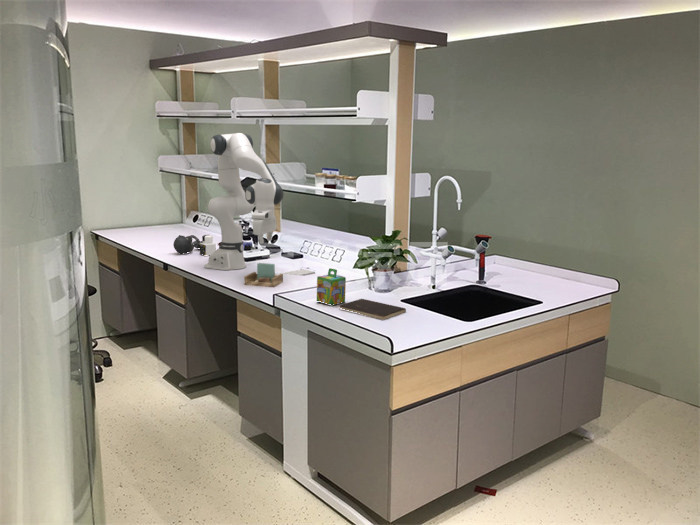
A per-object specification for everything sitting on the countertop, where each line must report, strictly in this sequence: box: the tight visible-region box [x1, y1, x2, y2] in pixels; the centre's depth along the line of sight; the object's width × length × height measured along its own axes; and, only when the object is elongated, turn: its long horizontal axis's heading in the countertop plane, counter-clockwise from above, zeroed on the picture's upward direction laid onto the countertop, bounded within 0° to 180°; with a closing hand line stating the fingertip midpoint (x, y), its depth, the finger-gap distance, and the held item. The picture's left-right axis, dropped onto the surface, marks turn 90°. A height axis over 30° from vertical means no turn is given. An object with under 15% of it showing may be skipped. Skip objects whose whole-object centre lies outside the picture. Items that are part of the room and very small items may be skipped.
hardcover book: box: [338, 298, 407, 321], centre depth 258 cm, size 16×23×2 cm
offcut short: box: [258, 277, 271, 282], centre depth 297 cm, size 5×4×2 cm
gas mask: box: [173, 234, 203, 255], centre depth 381 cm, size 14×9×25 cm
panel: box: [256, 262, 276, 283], centre depth 301 cm, size 8×2×9 cm, turn 74°
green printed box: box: [316, 268, 347, 306], centre depth 268 cm, size 9×9×15 cm
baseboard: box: [280, 267, 316, 277], centre depth 320 cm, size 31×3×12 cm
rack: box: [243, 271, 284, 288], centre depth 299 cm, size 15×11×5 cm
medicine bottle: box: [199, 234, 217, 256], centre depth 373 cm, size 7×7×12 cm
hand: (265, 242), depth 297 cm, fingers open, 8 cm apart
